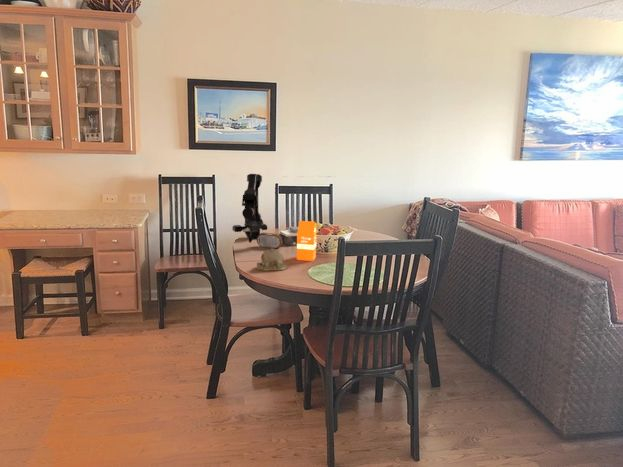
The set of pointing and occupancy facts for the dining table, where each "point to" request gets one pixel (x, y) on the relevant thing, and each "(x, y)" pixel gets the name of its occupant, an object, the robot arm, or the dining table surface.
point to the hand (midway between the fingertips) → (250, 242)
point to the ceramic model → (271, 261)
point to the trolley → (289, 236)
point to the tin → (269, 240)
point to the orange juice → (306, 241)
